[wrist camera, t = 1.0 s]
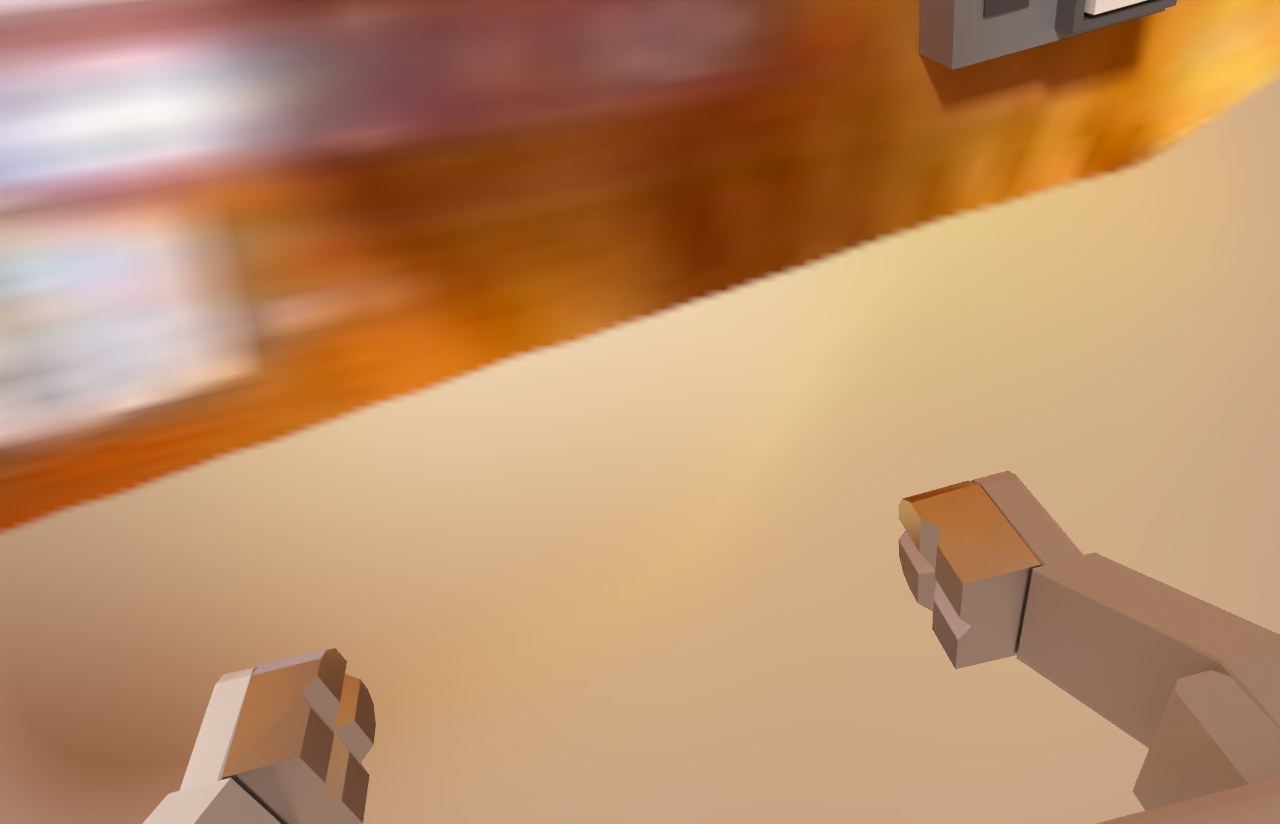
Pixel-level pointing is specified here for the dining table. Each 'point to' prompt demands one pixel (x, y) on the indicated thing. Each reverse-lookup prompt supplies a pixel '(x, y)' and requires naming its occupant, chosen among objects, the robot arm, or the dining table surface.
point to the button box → (1010, 26)
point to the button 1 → (1106, 5)
